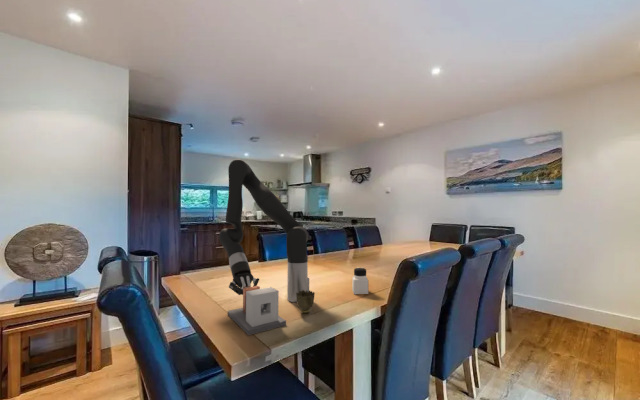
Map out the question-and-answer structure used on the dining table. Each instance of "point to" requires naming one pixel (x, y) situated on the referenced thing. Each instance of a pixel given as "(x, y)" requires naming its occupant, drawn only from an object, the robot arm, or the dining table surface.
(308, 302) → the cup
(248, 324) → the peg hole fixture
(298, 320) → the dining table surface
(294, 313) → the dining table surface
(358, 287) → the medicine bottle
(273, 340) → the dining table surface
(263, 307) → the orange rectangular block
